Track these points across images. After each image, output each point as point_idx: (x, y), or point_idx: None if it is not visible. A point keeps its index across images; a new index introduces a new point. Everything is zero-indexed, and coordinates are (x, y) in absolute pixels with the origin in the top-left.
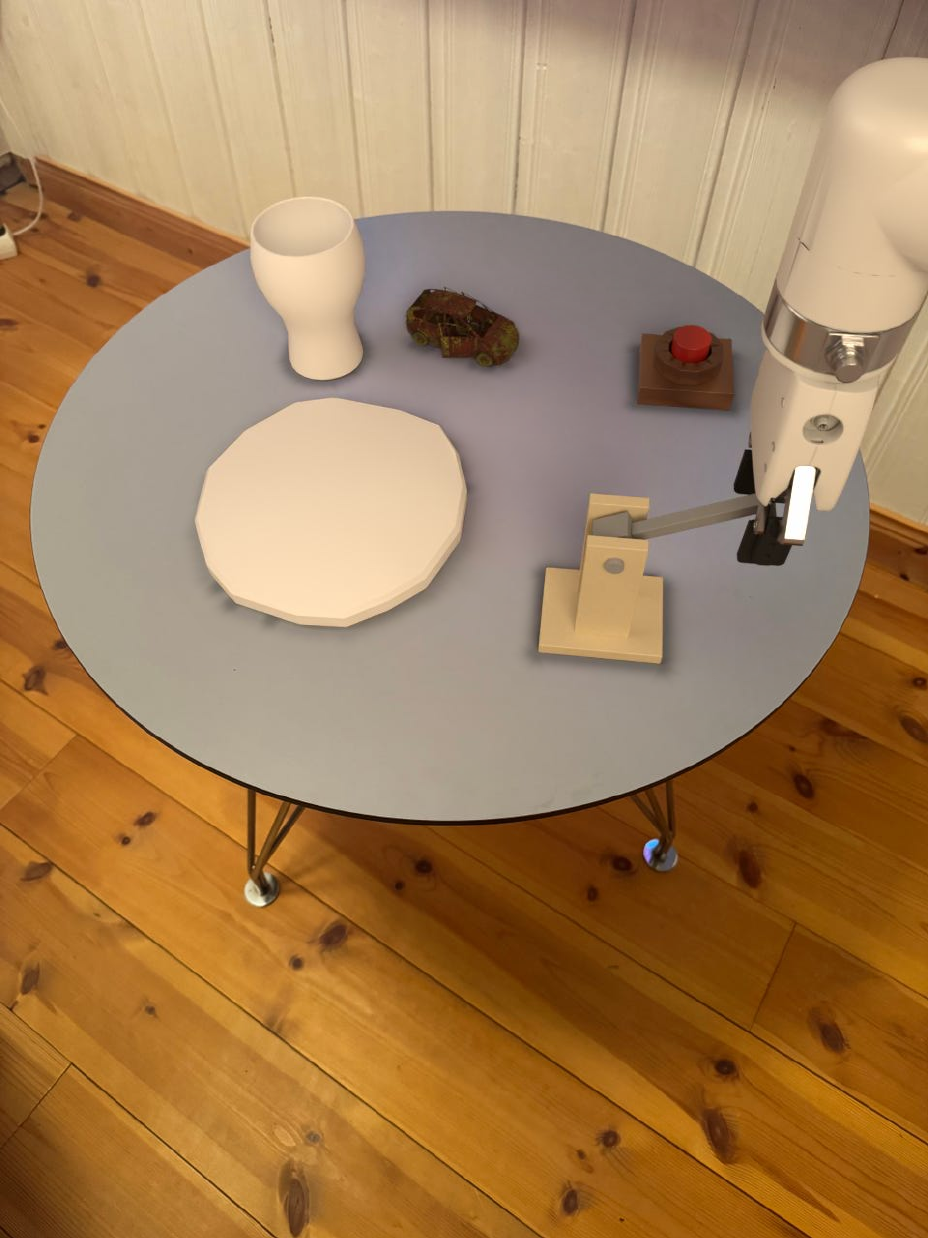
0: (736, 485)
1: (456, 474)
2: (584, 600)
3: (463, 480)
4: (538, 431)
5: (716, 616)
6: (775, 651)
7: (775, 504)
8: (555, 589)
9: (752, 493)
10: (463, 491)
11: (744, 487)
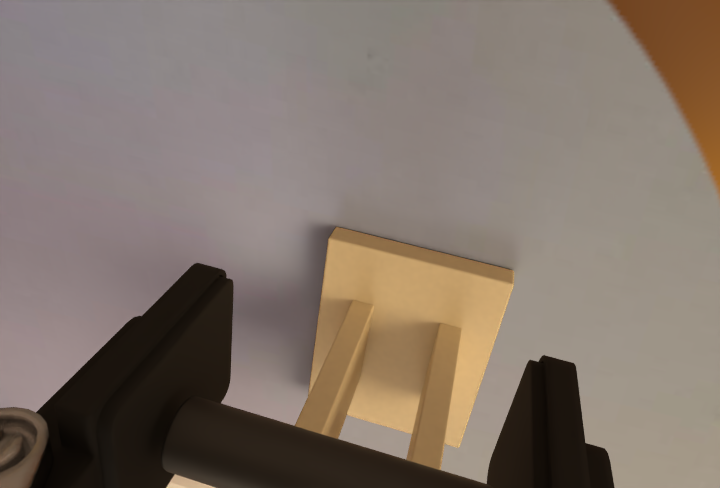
0: None
1: None
2: None
3: None
4: (36, 331)
5: (415, 140)
6: (522, 32)
7: (358, 485)
8: (352, 402)
9: (227, 348)
10: (178, 479)
11: (213, 393)
